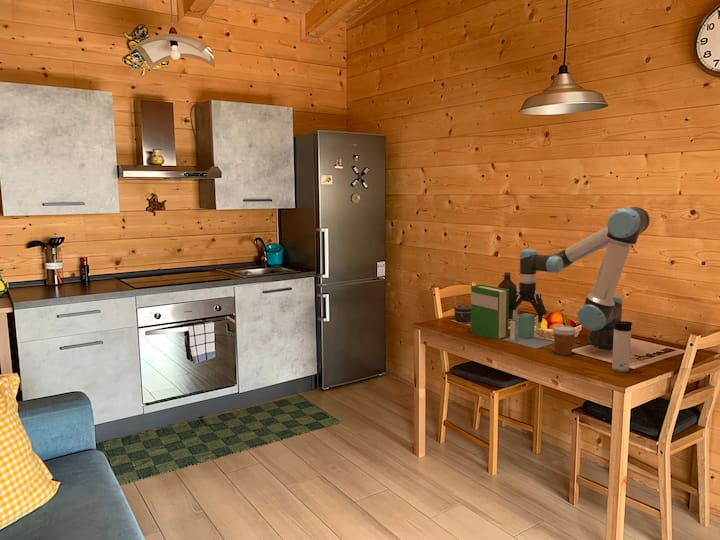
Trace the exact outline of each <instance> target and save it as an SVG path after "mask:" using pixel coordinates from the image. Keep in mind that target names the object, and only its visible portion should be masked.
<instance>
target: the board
mask: <svg viewBox="0 0 720 540" xmlns="http://www.w3.org/2000/svg"><path fill="white" fill-rule="evenodd" d="M501 339H502V338H501ZM507 339H510V336H508V337H505V338H503V339H502V340H503V341H505V342H506V341H507V342H510V343H514V344H518V345H521V346H524V347H525V346H526V347H529V348H533V349H540V348H543V347H545V346H549V345H552V344H555V341H552V340H548V339H544V338H540V337H536V336H534V337H531V338H528V339H526V338H522V337H519V336H518V339H520V340H521V341H517V342H512V341H509V340H507Z"/></svg>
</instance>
